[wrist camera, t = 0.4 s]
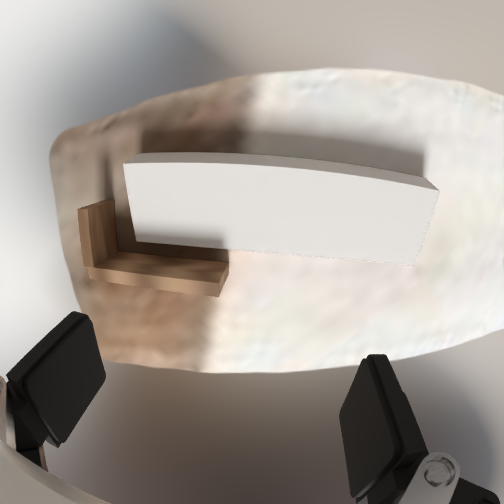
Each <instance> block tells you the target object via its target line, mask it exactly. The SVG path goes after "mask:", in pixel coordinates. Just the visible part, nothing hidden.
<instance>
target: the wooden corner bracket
mask: <svg viewBox="0 0 504 504" xmlns="http://www.w3.org/2000/svg"><path fill="white" fill-rule="evenodd" d="M78 221H79V231H80V240H81V249H82V256H83V263H84V266H87V267H88V273H89V279H94V280H100V281H106V282H112V283H119V284H125V285H131V286H138V287H145V288H152V289H159V290H166V291H173V292H181V293H189V294H197V295H205V296H214V297H219V295H220V293H221V290H222V288H223V286H224V283H225V281H226V279H227V276H228V270H229V262H220V261H210V260H199V259H189V258H178V257H168V256H158V255H149V254H139V253H129V252H120V251H118V249H117V237H116V223H115V204H114V200H104V201H101V202H97V203H94V204H91V205H88V206H85V207H82V208H80V209H78Z"/></svg>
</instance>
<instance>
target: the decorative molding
mask: <svg viewBox="0 0 504 504" xmlns="http://www.w3.org/2000/svg"><path fill="white" fill-rule="evenodd" d="M123 166H124V173H125V180H126V186H127V193H128V199H129V205H130V210H131V216H132V221H133V226H134V231H135V236H136V241H138V242H150V243H161V244H172V245H184V246H195V247H207V248H218V249H230V250H241V251H252V252H264V253H275V254H286V255H298V256H309V257H320V258H332V259H343V260H354V261H366V262H377V263H388V264H400V265H411V266H414V264H415V261H416V259H417V256H418V254H419V251H420V249H421V246H422V243H423V240H424V238H425V235H426V232H427V229H428V226H429V223H430V220H431V217H432V214H433V211H434V208H435V205H436V201H437V198H438V195H439V190H438V189H437V188H436V187H435V186H434V185H433V184H432V183H430V182H429V181H428V180H427V179H426V178H424V177H420V176H415V175H410V174H405V173H400V172H395V171H390V170H384V169H379V168H373V167H367V166H360V165H354V164H347V163H339V162H332V161H324V160H315V159H306V158H296V157H286V156H273V155H258V154H240V153H209V152H166V153H140V154H138V155H136V156H134V157H133V158H131V159H130V160H128V161H127V162H125V163H124V164H123Z"/></svg>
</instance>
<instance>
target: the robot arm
mask: <svg viewBox="0 0 504 504" xmlns="http://www.w3.org/2000/svg"><path fill="white" fill-rule="evenodd" d="M6 376H7V378H8V380H9V381H8V382H7V383H6V382H5V380H4V378H2V377H1V376H0V504H110V503H108V502H106V501H103V500H101V499H99V498H96V497H94V496H92V495H90V494H88V493H86V492H84V491H82V490H80V489H78V488H76V487H73V486H72V485H70V484H68V483H66V482H64V481H62V480H61V479H59V478H57V477H56V476H54V475H52V474H50V473H49V472H48V467H47V462H46V457H45V452H44V447H43V443H44V441H45V440H46V441H47V442H48V443H50V444H52V445H54V446H55V447H57V448H58V447H59V446H60V444H61V443H64V442H65V441H66V440H67V438H68V437H69V435H70V434H71V432H72V430H73V429H74V427H75V426H76V424H77V423H78V421H79V419H80V418H81V416H82V415H83V413H84V412H85V410H86V409H87V407H88V406H89V404H90V403H91V401H92V400H93V398H94V396H95V395H96V393H97V392H98V391H99V389H100V388H101V386H102V385H103V383H104V381H105V378H106V373H105V370H104V366H103V363H102V359H101V356H100V352H99V348H98V344H97V340H96V336H95V332H94V328H93V323H92V321H91V320H90V319H89V317H88V315H86V314H83V313H79V312H76V311H73V312H71V313H70V314H69V315H68V316H67V317H66V318H64V319H63V320H62V321H61V322H60V323H59V324H58V325H57V326H56V327H55V328H53V329H52V330H51V331H50V332H49V333H48V334H47V335H46V336H45V337H44V338H43V339H42V340H41V341H40V342H39V343H37V344H36V345H35V347H33V348H32V349H31V350H30V351H29V352H28V353H27V354H26V355H25V356H24V357H23V358H22V359H21V360H20V361H19V362H18V363H17V364H16V365H15V366H14V367H13V368H12V369H11V370H10V371H9V372H8V373H7V375H6ZM339 419H340V426H341V432H342V438H343V444H344V450H345V457H346V464H347V470H348V478H349V486H350V494H351V496H352V497H353V498H356V504H362V503H368V504H500V501H499V498H498V497H497V495H496V494H495V493H493V492H491V491H489V490H487V489H484V488H482V487H480V486H477V485H475V484H473V483H471V482H468V481H466V480H464V479H462V478H460V477H459V474H460V472H459V466H458V464H457V462H456V461H455V460H454V459H453V458H452V457H450V456H449V455H447V454H445V453H433V454H430V455H429V453H428V450H427V448H426V445H425V442H424V439H423V437H422V435H421V431H420V429H419V426H418V424H417V421H416V419H415V416H414V414H413V411H412V409H411V406H410V404H409V402H408V399H407V397H406V395H405V393H404V392H402V390H401V387H400V385H399V382H398V380H397V378H396V375H395V373H394V371H393V369H392V366H391V364H390V362H389V360H388V358H387V356H386V355H385V354H370V355H368V356H367V358H366V359H362V361H361V363H360V366H359V368H358V371H357V373H356V376H355V378H354V381H353V383H352V385H351V388H350V390H349V392H348V395H347V397H346V399H345V401H344V403H343V405H342V408H341V410H340V415H339Z"/></svg>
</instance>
